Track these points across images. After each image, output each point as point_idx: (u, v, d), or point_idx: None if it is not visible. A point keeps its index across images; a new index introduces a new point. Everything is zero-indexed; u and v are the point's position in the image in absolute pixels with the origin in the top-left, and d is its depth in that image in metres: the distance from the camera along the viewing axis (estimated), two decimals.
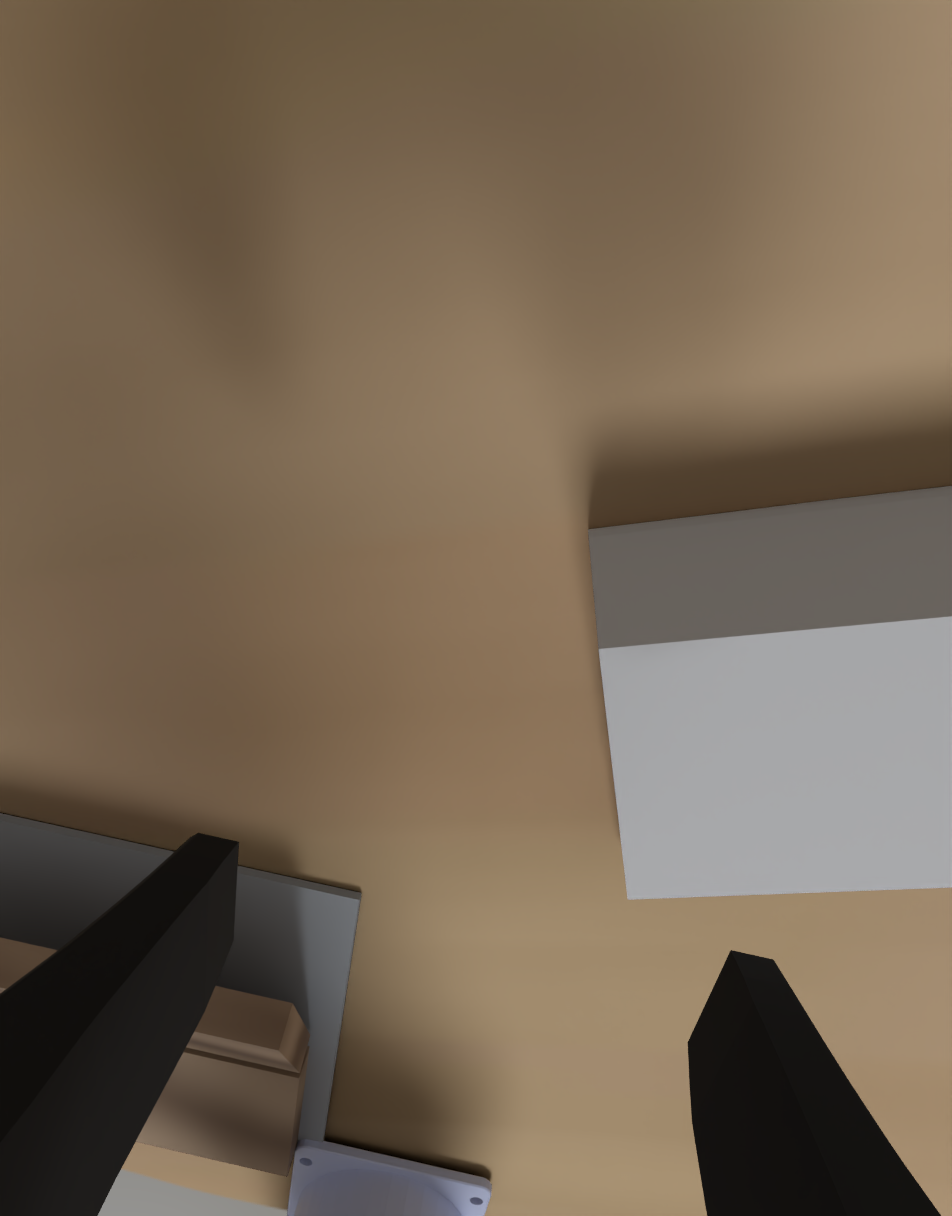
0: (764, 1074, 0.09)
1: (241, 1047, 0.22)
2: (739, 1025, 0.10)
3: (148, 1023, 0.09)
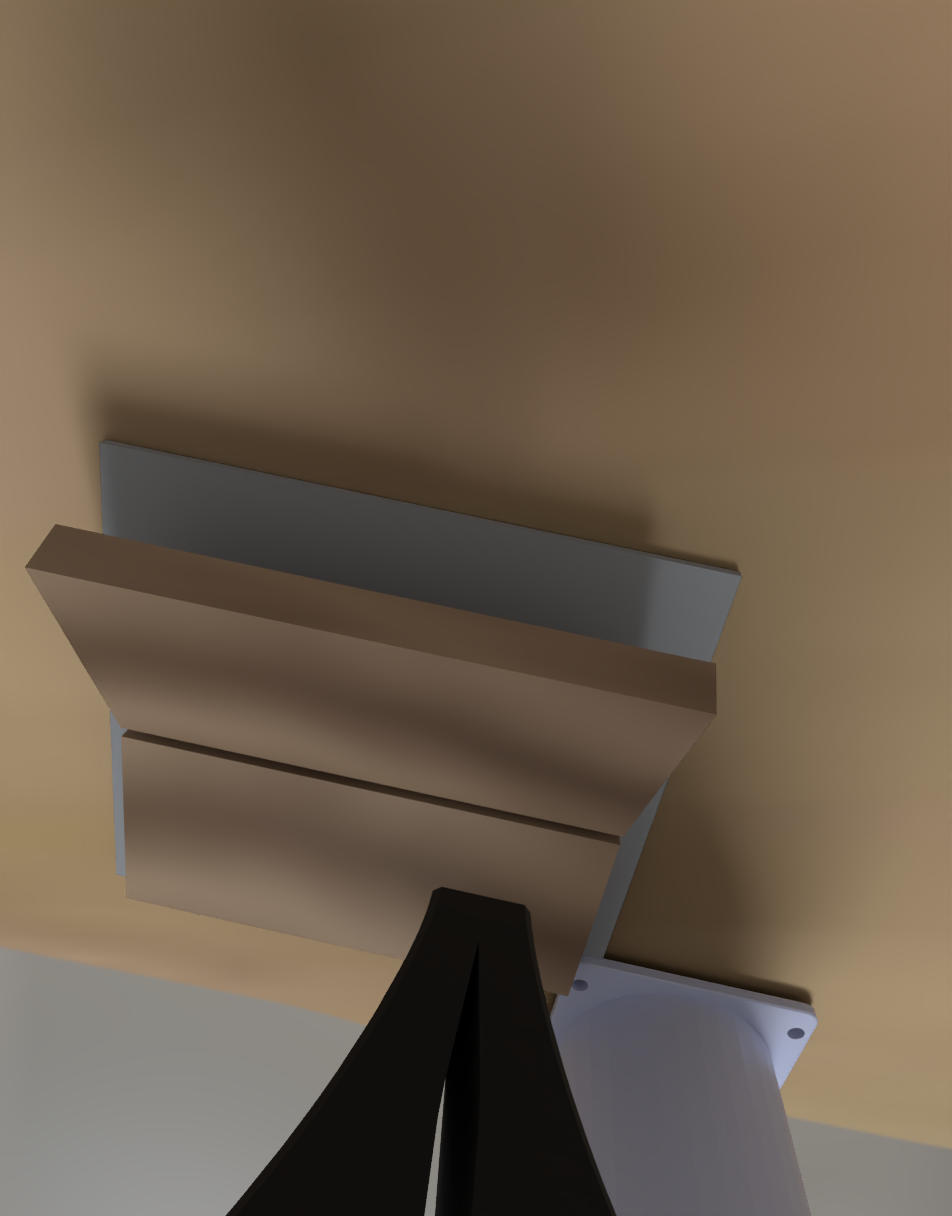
0: (473, 1009, 0.09)
1: (626, 739, 0.16)
2: (472, 965, 0.10)
3: None
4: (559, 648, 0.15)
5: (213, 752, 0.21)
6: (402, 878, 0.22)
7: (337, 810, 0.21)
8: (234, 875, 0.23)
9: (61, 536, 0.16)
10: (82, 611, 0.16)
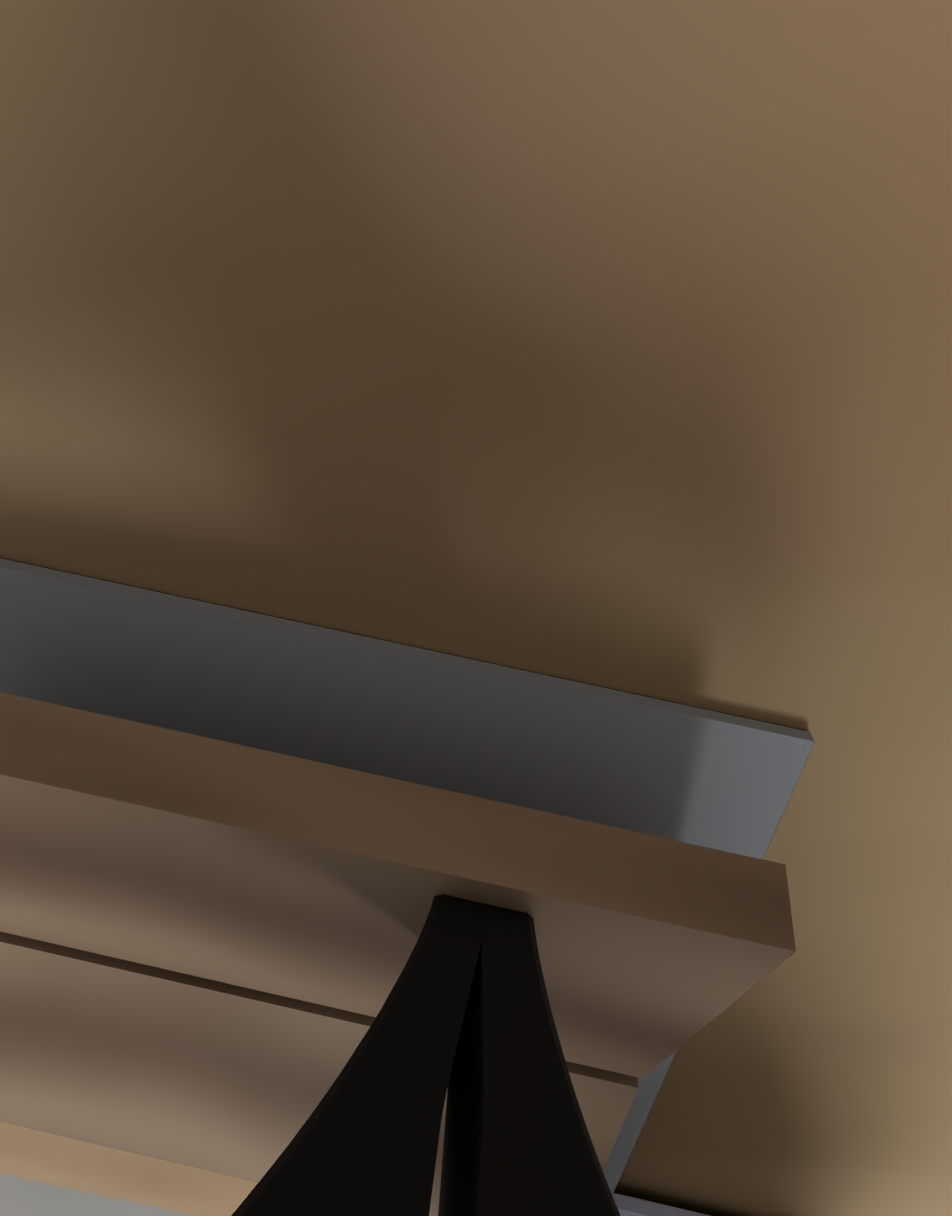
0: (476, 1009, 0.09)
1: (655, 973, 0.11)
2: None
3: None
4: (557, 843, 0.10)
5: (83, 953, 0.15)
6: None
7: (252, 1031, 0.16)
8: (123, 1099, 0.17)
9: None
10: None
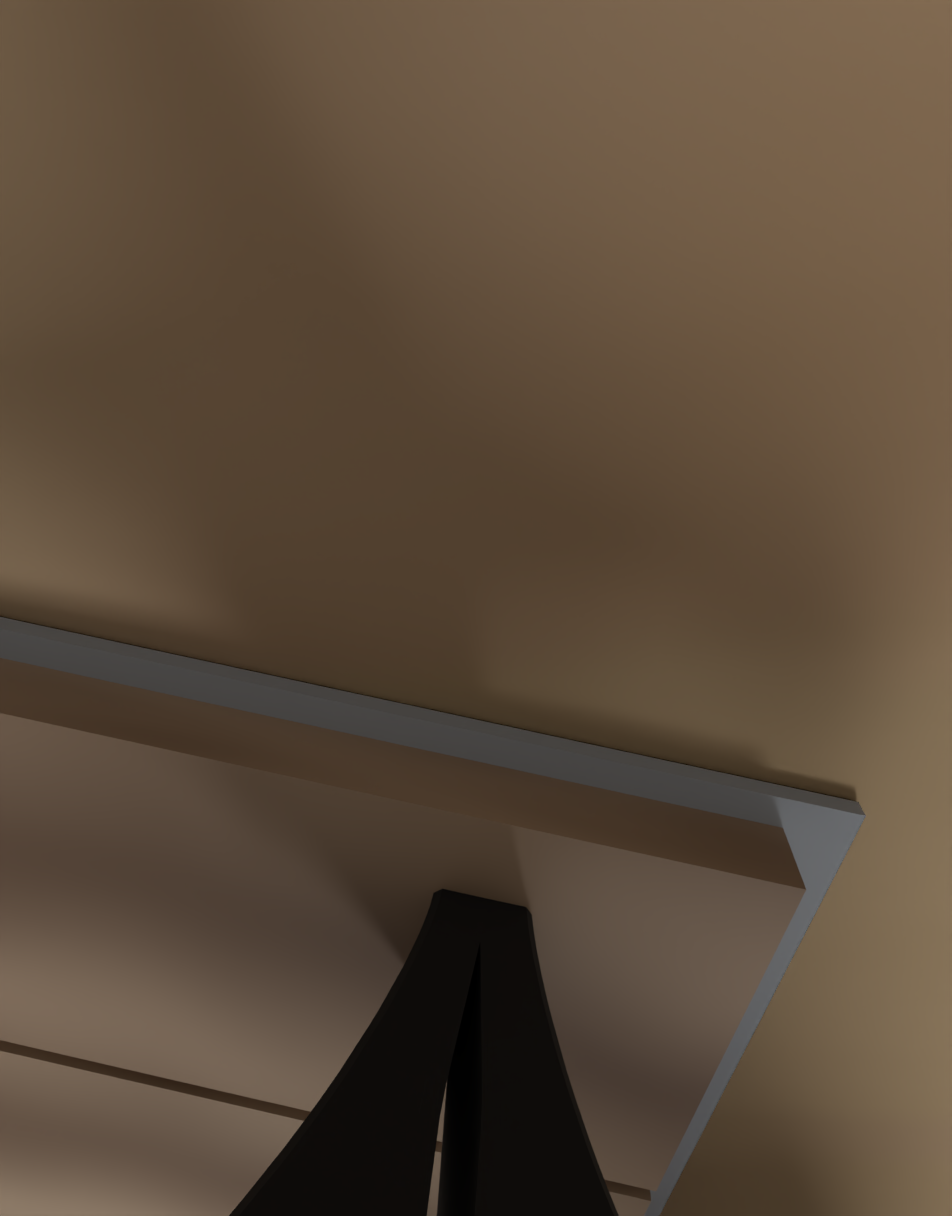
0: (474, 1009, 0.09)
1: (668, 958, 0.11)
2: (473, 966, 0.10)
3: None
4: (563, 798, 0.11)
5: (11, 1044, 0.13)
6: None
7: (207, 1131, 0.14)
8: (66, 1197, 0.15)
9: None
10: None
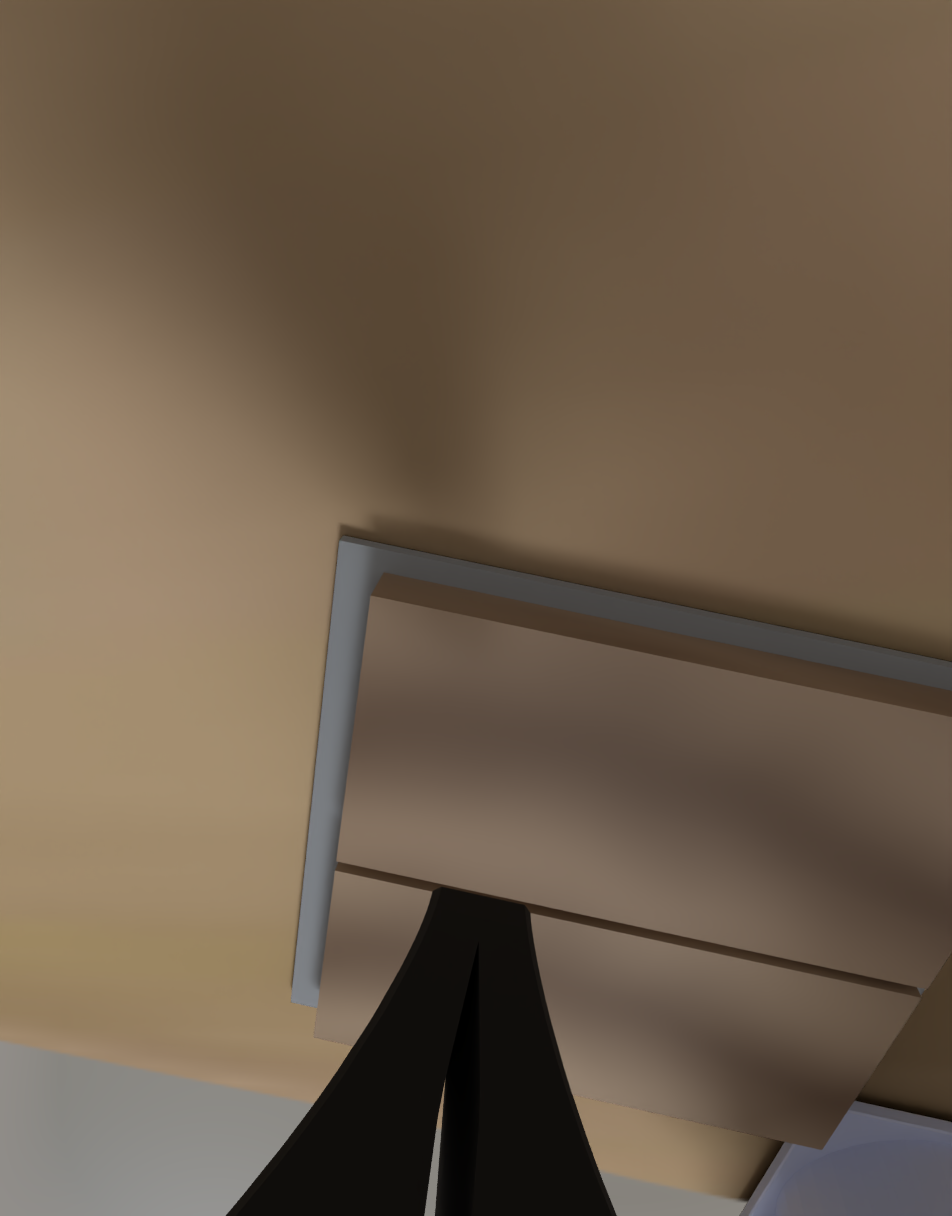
0: (473, 1009, 0.09)
1: None
2: (472, 966, 0.10)
3: None
4: (904, 689, 0.15)
5: None
6: (648, 1026, 0.19)
7: (583, 953, 0.18)
8: None
9: (393, 579, 0.16)
10: (400, 659, 0.15)
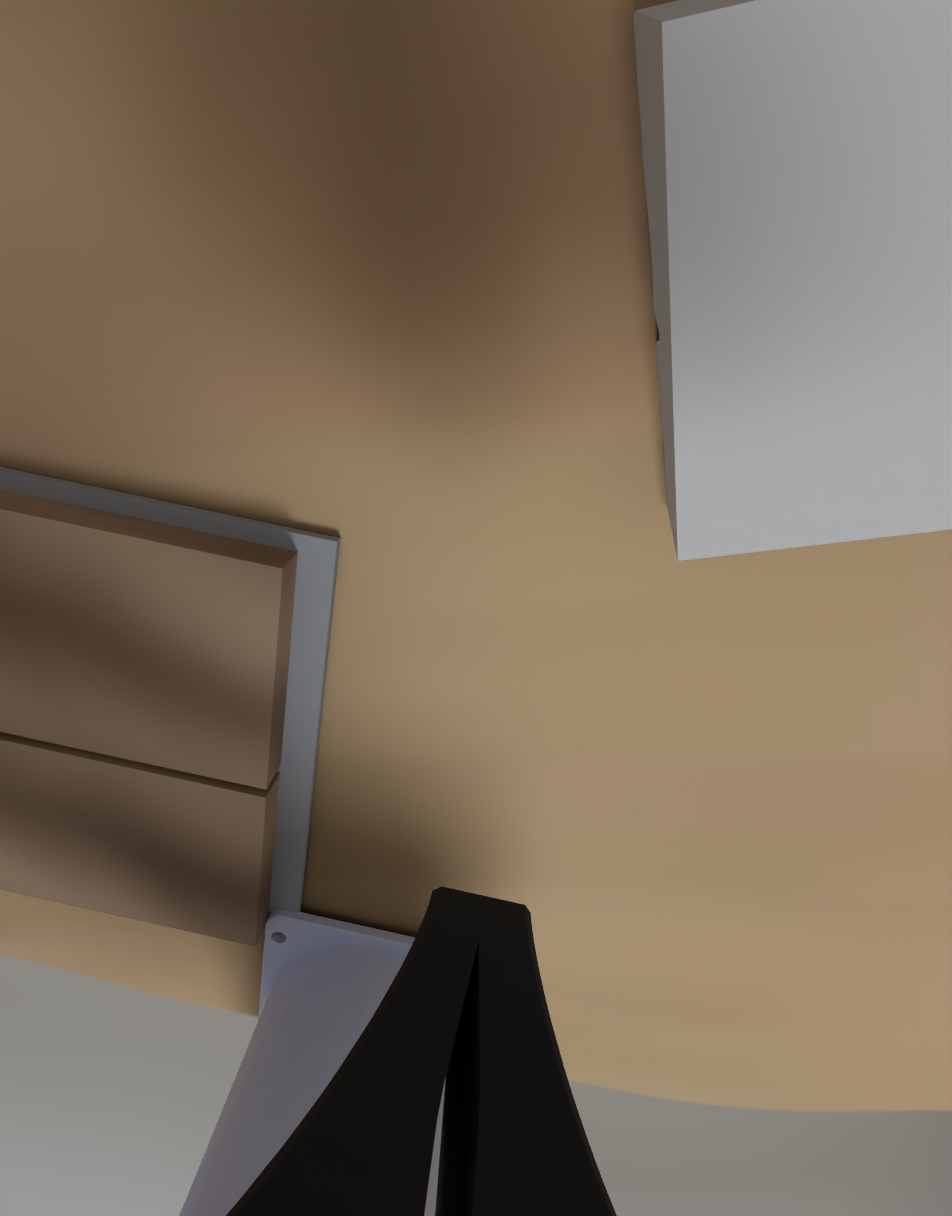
0: (473, 1009, 0.09)
1: (228, 618, 0.20)
2: (472, 966, 0.10)
3: None
4: (171, 531, 0.20)
5: None
6: (81, 832, 0.23)
7: (9, 766, 0.22)
8: None
9: None
10: None
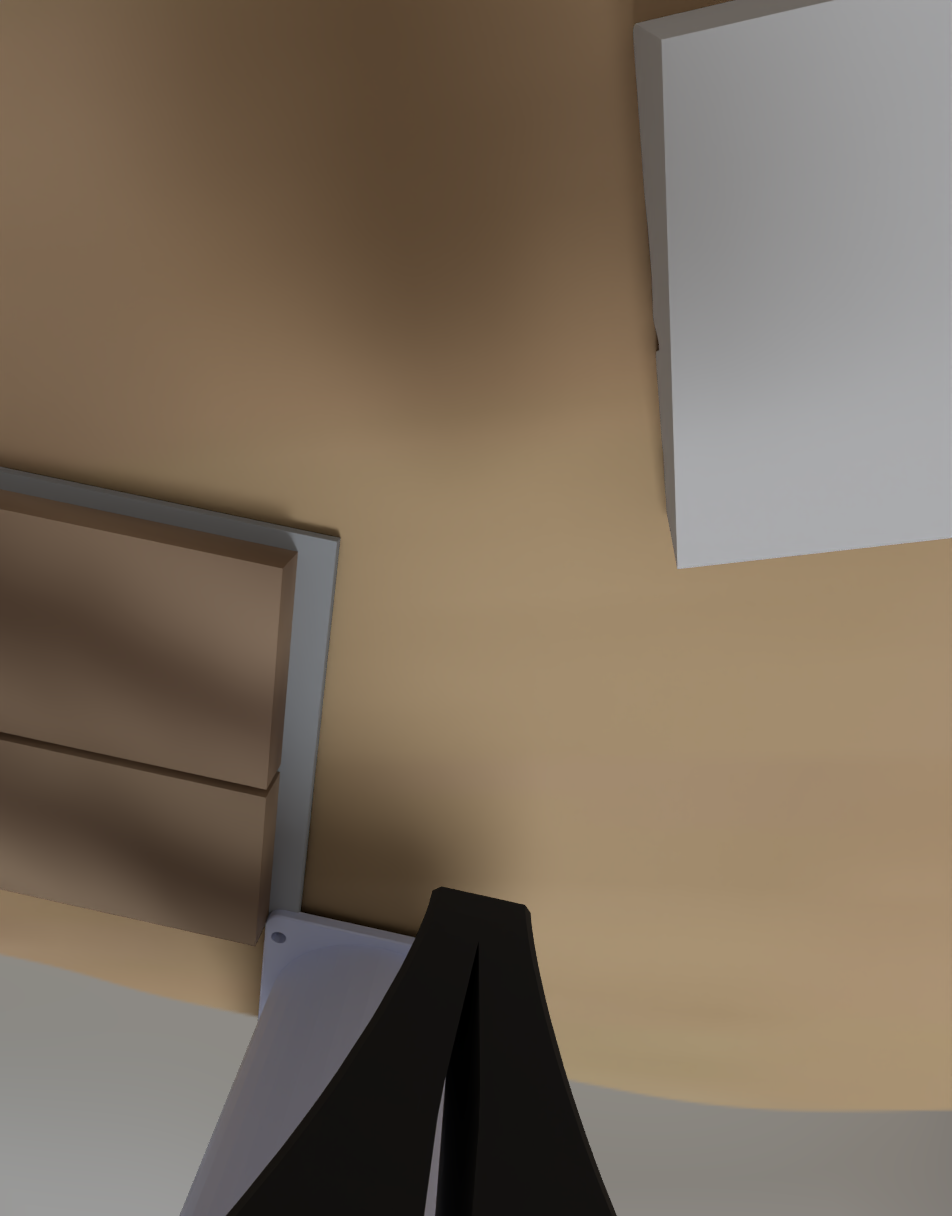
0: (473, 1009, 0.09)
1: (228, 618, 0.20)
2: (472, 966, 0.10)
3: None
4: (171, 531, 0.20)
5: None
6: (81, 832, 0.23)
7: (9, 766, 0.22)
8: None
9: None
10: None
